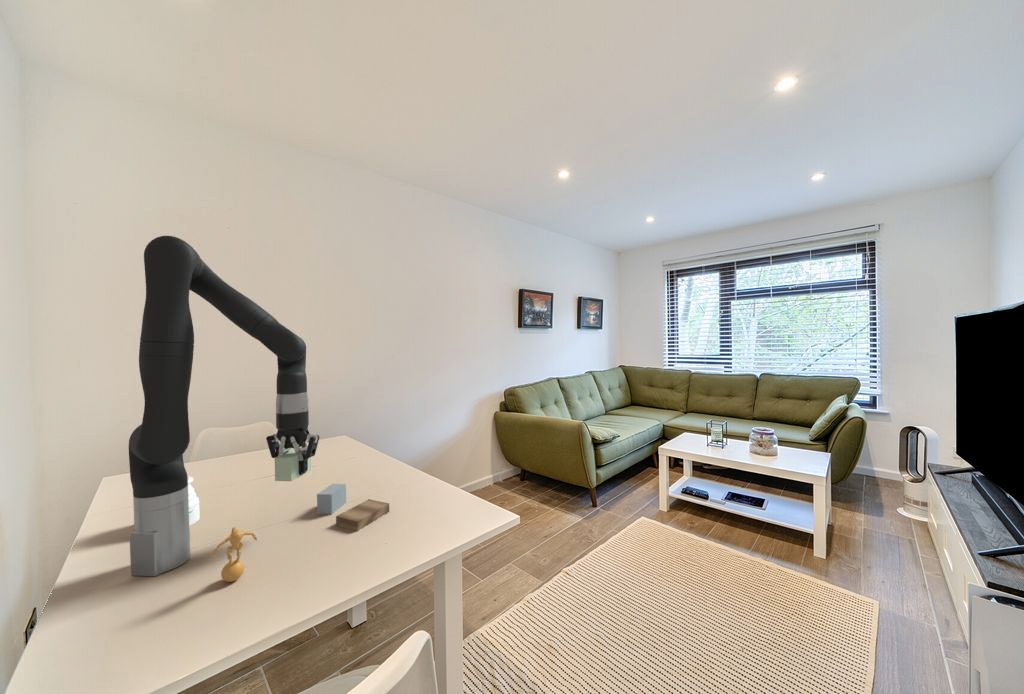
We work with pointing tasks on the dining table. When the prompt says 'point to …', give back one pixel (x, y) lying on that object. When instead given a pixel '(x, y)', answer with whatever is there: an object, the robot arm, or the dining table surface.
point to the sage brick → (288, 466)
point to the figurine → (233, 567)
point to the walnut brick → (362, 514)
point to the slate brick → (331, 499)
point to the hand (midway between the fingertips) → (293, 473)
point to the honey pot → (193, 503)
